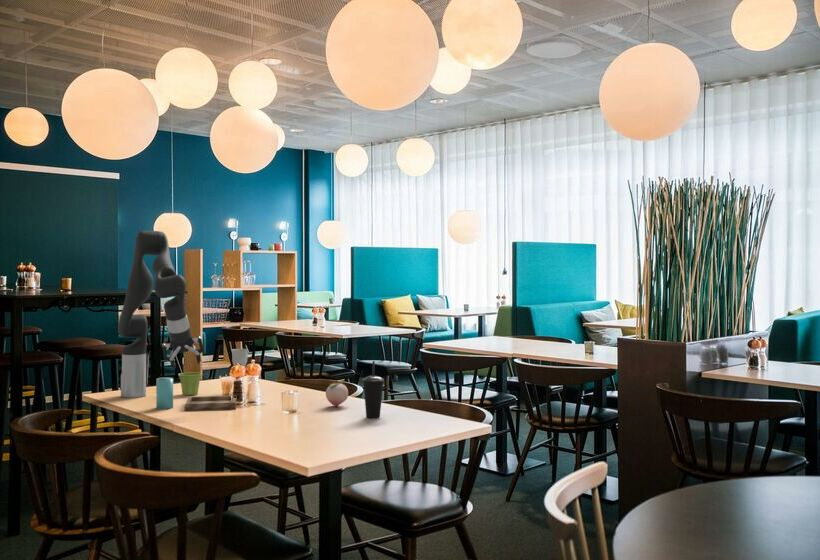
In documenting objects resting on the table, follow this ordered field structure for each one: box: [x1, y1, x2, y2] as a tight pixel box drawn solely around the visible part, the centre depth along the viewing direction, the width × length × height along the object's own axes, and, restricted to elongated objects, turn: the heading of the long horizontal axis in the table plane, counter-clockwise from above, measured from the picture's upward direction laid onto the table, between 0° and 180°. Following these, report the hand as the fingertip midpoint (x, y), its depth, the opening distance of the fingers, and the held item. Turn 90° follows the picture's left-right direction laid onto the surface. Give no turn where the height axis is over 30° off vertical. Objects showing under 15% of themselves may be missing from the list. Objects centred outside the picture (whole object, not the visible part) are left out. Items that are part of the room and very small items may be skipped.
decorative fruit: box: [325, 380, 349, 407], centre depth 287 cm, size 9×8×10 cm
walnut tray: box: [185, 395, 237, 411], centre depth 285 cm, size 18×16×2 cm
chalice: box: [230, 348, 249, 367], centre depth 320 cm, size 7×7×18 cm
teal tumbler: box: [155, 376, 174, 410], centre depth 280 cm, size 6×6×11 cm
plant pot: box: [177, 371, 203, 397], centre depth 311 cm, size 9×9×9 cm
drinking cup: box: [362, 360, 385, 419], centre depth 267 cm, size 8×8×20 cm
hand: (186, 365), depth 275 cm, fingers open, 8 cm apart
